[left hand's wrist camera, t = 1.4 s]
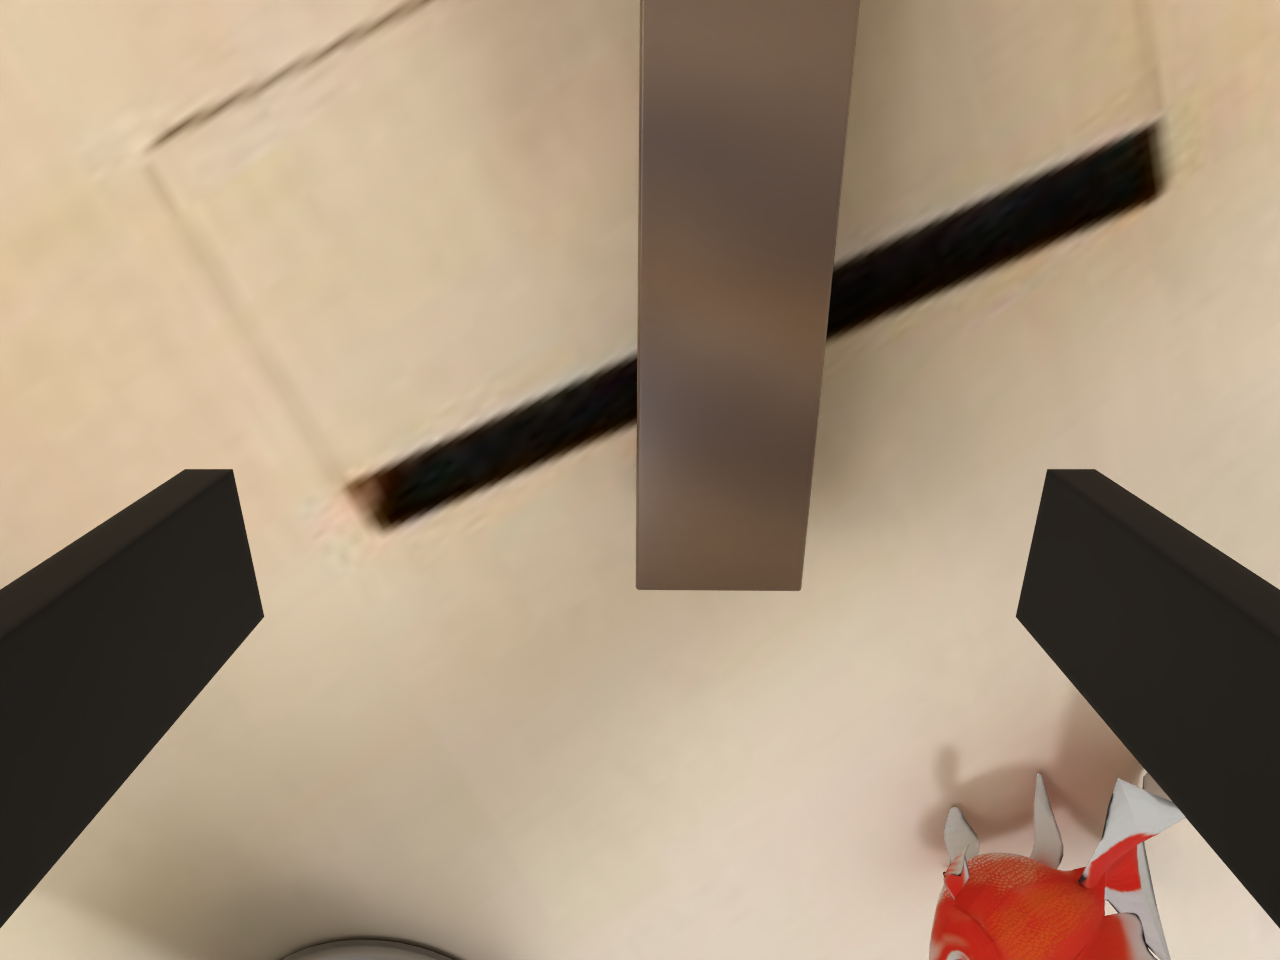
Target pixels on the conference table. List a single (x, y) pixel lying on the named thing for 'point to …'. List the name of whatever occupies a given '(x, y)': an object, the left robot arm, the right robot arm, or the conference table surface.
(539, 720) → the conference table surface
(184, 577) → the left robot arm
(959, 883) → the fish
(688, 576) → the plank
